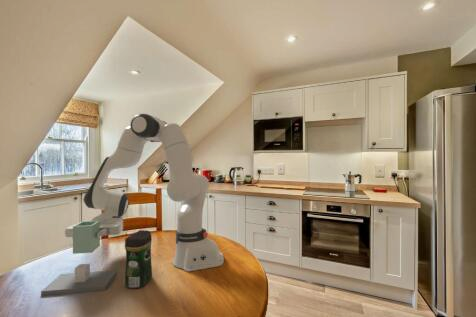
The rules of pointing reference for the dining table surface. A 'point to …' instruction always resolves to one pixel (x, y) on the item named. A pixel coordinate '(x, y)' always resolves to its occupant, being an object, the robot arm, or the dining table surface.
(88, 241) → the mint green pencil cup
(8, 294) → the dining table surface
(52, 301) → the dining table surface
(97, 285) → the stub board
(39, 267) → the dining table surface
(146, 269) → the coffee jar
